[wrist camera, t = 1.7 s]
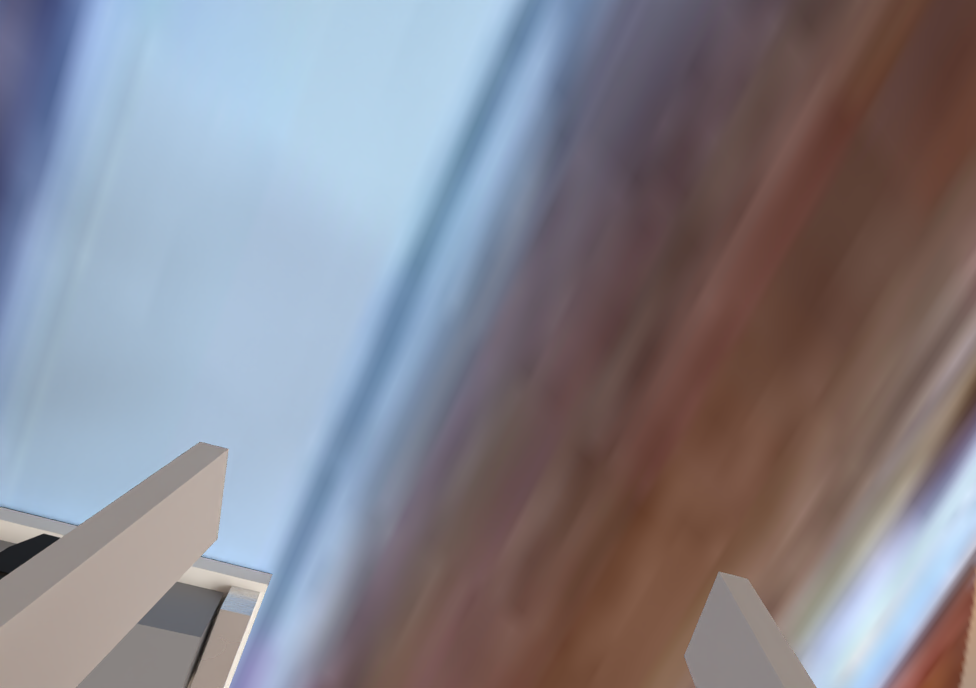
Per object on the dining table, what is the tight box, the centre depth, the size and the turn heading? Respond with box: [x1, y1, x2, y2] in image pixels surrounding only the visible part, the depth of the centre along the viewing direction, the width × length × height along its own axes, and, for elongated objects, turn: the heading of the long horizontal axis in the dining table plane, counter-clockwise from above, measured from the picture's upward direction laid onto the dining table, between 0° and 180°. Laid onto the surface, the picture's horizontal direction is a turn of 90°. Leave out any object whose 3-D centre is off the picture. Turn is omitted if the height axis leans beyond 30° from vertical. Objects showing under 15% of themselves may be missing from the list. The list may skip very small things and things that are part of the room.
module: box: [0, 540, 224, 688], centre depth 25 cm, size 11×5×4 cm, turn 68°
